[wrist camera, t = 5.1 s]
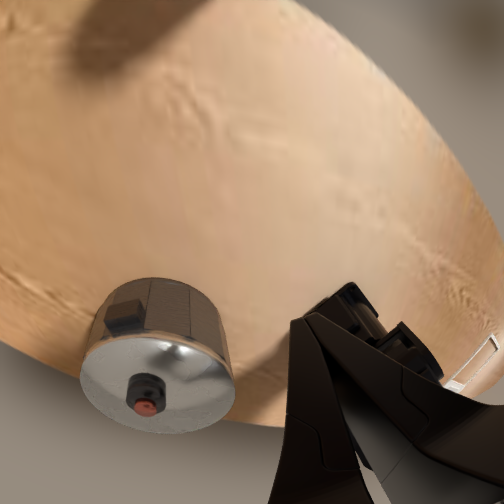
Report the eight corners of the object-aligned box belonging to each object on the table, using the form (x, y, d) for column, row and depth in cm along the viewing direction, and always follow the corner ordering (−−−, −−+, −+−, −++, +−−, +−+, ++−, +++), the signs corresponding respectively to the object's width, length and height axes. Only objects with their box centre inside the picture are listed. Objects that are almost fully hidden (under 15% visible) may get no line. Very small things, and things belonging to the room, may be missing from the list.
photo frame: (431, 398, 45) (493, 333, 40) (429, 394, 46) (490, 330, 41) (449, 402, 51) (500, 348, 46) (447, 398, 52) (498, 345, 47)
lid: (54, 344, 16) (40, 378, 13) (208, 312, 16) (212, 350, 14) (127, 429, 21) (125, 458, 18) (247, 411, 22) (254, 442, 19)
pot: (247, 327, 26) (261, 379, 20) (170, 383, 27) (170, 431, 22) (145, 247, 20) (131, 295, 15) (75, 326, 22) (58, 375, 17)
